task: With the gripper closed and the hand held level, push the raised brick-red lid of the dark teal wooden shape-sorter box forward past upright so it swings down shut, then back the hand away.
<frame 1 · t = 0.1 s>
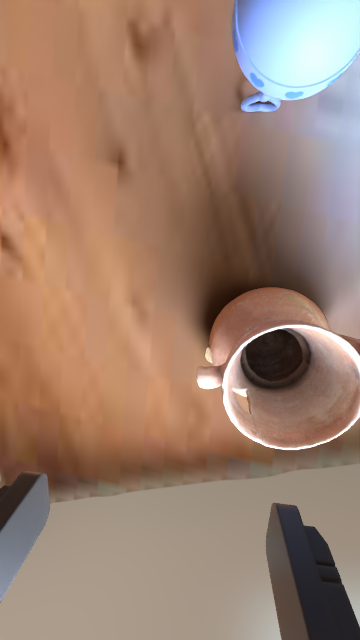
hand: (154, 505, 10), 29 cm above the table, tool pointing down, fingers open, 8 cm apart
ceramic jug: (267, 337, 38), on the table
baby rattle: (262, 110, 32), on the table
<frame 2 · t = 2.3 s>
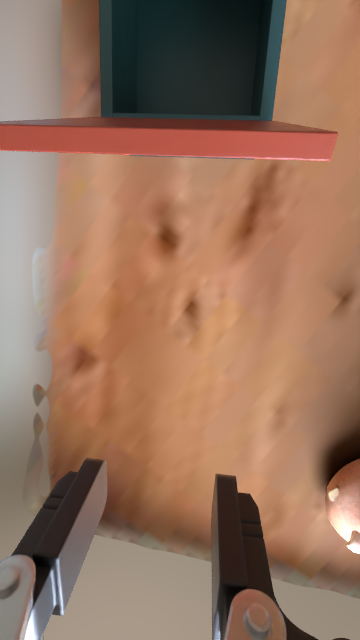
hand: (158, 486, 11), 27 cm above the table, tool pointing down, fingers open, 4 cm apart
sorter lid: (170, 130, 17), point 17 cm above the table, hinge at 110.1°
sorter: (195, 80, 30), on the table
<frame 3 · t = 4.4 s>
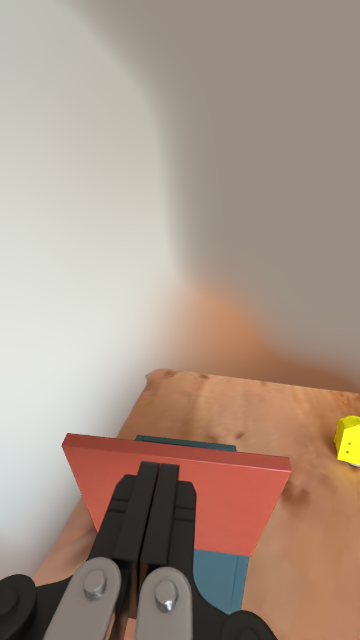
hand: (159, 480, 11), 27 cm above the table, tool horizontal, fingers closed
sorter lid: (173, 504, 22), point 17 cm above the table, hinge at 110.1°
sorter: (177, 539, 36), on the table
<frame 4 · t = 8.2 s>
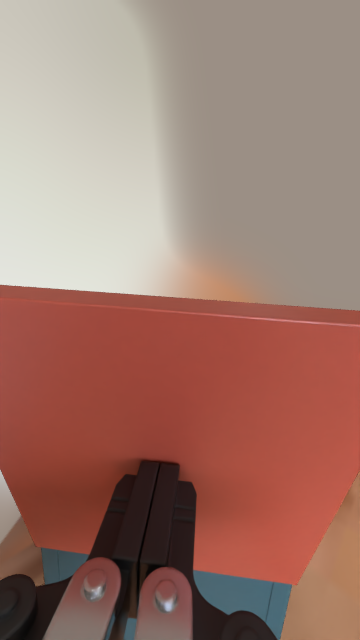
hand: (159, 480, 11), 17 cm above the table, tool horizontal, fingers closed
sorter lid: (162, 469, 12), point 17 cm above the table, hinge at 104.0°, touching gripper
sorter: (171, 549, 25), on the table
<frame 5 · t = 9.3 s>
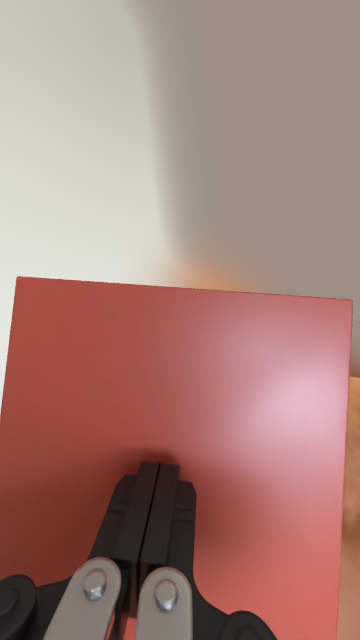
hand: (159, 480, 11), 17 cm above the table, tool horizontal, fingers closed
sorter lid: (162, 472, 12), point 17 cm above the table, hinge at 70.7°
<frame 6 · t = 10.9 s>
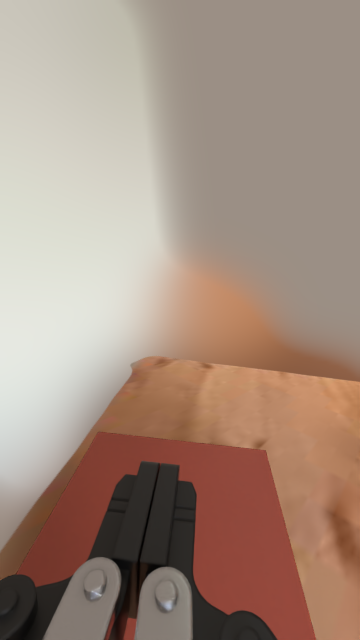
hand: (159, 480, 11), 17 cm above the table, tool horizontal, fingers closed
sorter lid: (166, 534, 17), point 9 cm above the table, hinge at -0.1°
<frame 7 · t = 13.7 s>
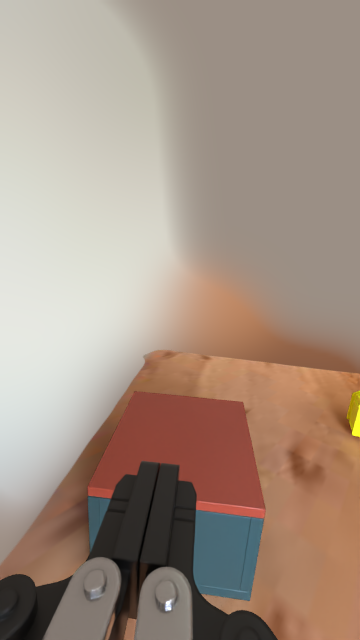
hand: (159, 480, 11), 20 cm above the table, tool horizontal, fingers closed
sorter lid: (182, 438, 30), point 9 cm above the table, hinge at -0.1°
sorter: (177, 513, 32), on the table
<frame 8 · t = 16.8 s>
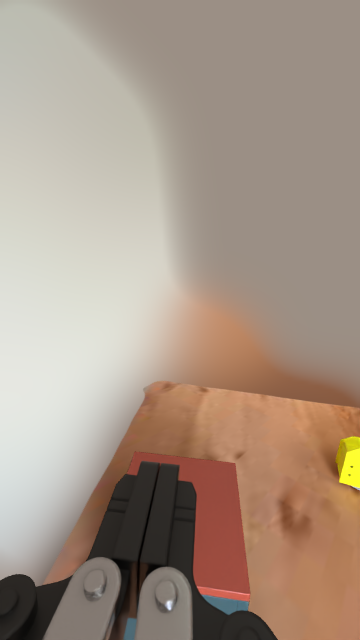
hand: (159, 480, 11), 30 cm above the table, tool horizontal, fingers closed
sorter lid: (178, 508, 33), point 9 cm above the table, hinge at -0.1°
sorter: (174, 572, 35), on the table
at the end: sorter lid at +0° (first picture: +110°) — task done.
